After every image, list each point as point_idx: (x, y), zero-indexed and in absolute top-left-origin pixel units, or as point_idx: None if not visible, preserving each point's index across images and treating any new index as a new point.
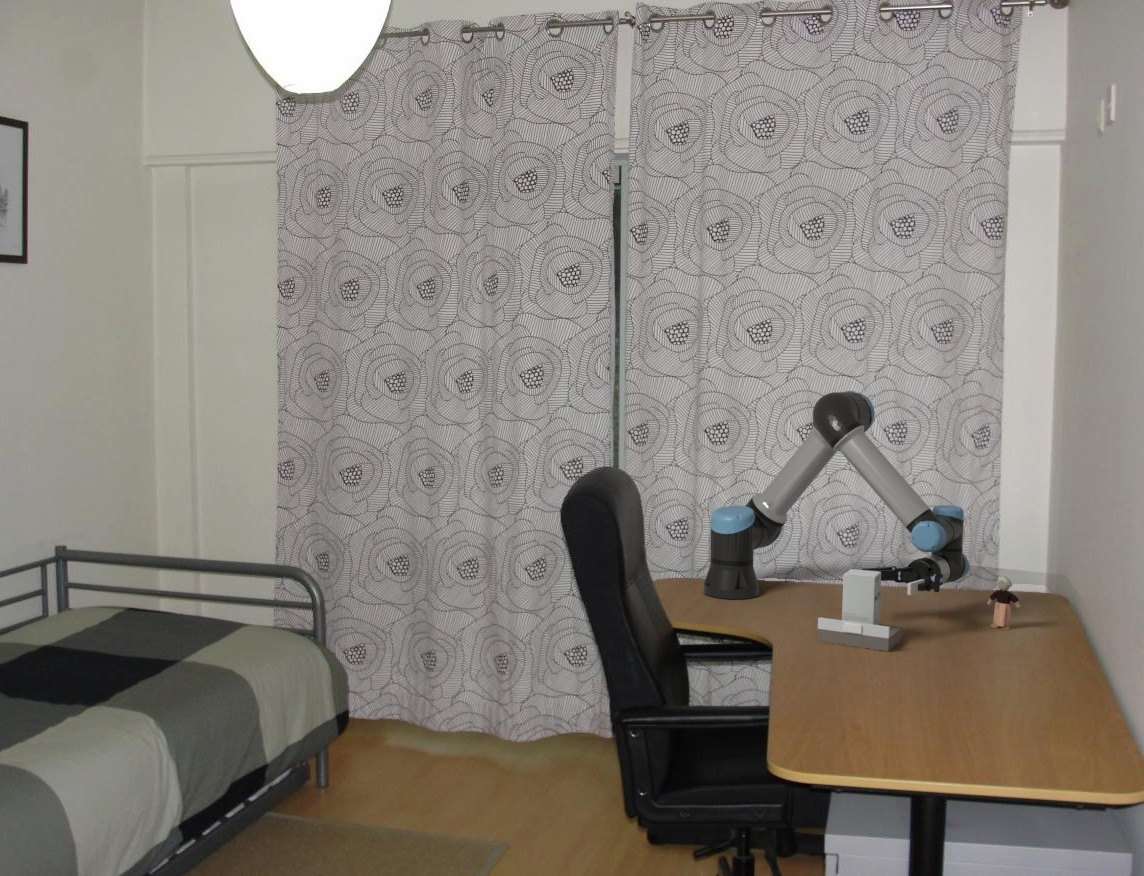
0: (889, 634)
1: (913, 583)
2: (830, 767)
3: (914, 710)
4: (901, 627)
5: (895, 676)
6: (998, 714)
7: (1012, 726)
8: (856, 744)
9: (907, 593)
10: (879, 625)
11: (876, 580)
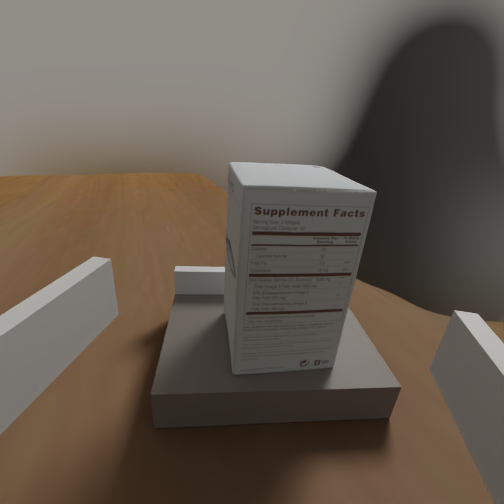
0: (175, 285)
1: (71, 274)
2: (175, 174)
3: (128, 205)
4: (152, 386)
5: (151, 243)
6: (42, 210)
7: (39, 202)
8: (166, 182)
9: (117, 308)
10: (200, 271)
11: (228, 181)
